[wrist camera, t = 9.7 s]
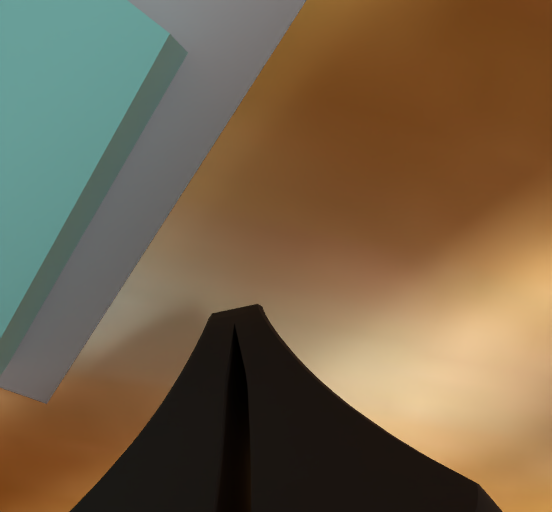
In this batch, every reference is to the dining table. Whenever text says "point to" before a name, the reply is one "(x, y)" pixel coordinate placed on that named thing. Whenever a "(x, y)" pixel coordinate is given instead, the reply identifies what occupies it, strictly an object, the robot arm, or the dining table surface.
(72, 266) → the base plate
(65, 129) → the housing
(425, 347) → the dining table surface
